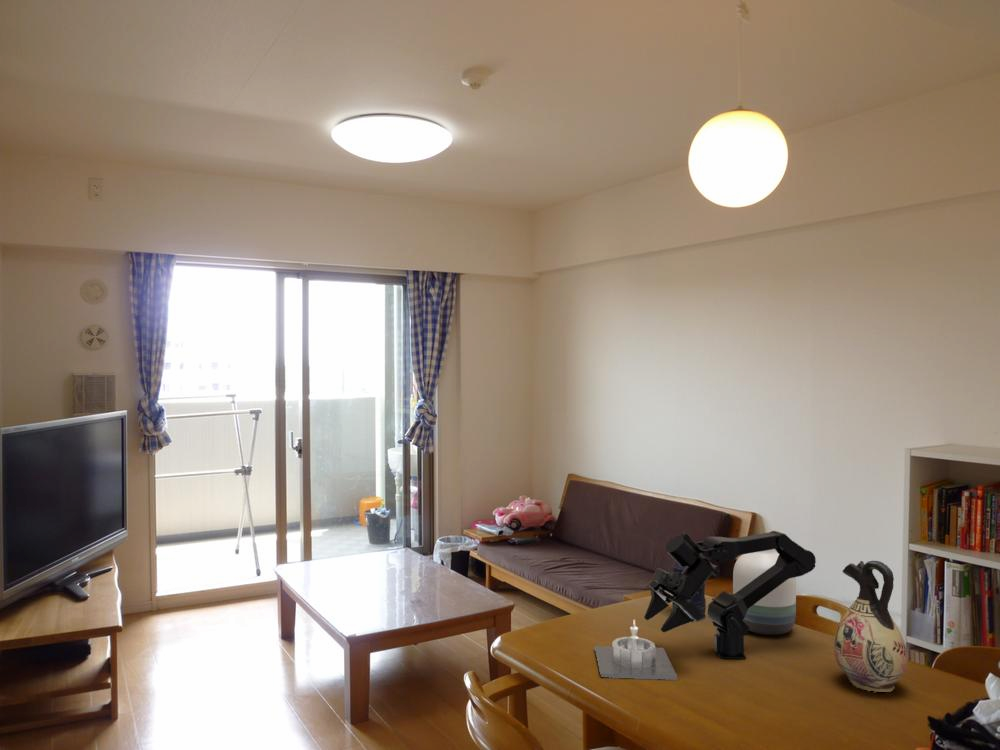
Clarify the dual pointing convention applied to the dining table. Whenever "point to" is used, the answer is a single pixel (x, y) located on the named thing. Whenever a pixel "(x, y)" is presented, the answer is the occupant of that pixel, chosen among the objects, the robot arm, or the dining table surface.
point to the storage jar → (697, 598)
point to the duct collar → (634, 660)
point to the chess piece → (634, 636)
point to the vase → (775, 607)
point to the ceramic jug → (870, 633)
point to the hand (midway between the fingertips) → (653, 625)
